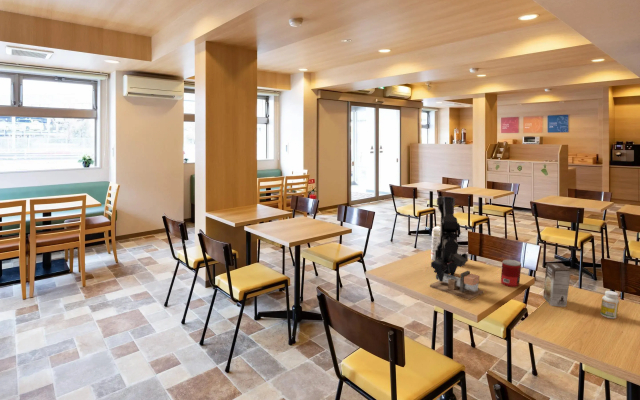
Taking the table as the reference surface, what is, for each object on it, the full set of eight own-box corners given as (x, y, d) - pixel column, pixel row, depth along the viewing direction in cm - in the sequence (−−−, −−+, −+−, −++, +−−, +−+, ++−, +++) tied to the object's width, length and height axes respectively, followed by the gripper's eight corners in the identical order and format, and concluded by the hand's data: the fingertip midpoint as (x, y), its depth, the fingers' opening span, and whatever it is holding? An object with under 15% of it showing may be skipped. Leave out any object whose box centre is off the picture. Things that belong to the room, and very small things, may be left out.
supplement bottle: (608, 319, 151) (611, 295, 149) (596, 313, 156) (599, 290, 155) (620, 318, 152) (623, 294, 150) (608, 312, 157) (611, 289, 155)
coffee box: (542, 297, 172) (545, 262, 169) (558, 298, 170) (561, 262, 168) (550, 306, 163) (554, 269, 160) (567, 307, 161) (571, 270, 159)
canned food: (521, 287, 182) (523, 265, 180) (502, 286, 184) (504, 264, 182) (516, 281, 189) (518, 260, 188) (498, 280, 191) (500, 259, 189)
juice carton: (443, 263, 216) (445, 230, 213) (429, 260, 222) (430, 227, 219) (449, 260, 222) (451, 227, 218) (435, 257, 227) (436, 225, 224)
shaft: (435, 280, 185) (436, 272, 184) (440, 278, 187) (440, 271, 187) (473, 292, 171) (474, 284, 170) (478, 290, 173) (478, 282, 172)
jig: (429, 286, 183) (430, 267, 181) (443, 280, 191) (444, 262, 189) (469, 300, 168) (471, 279, 166) (483, 293, 176) (484, 272, 174)
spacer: (463, 283, 173) (464, 276, 172) (470, 279, 177) (471, 273, 176) (472, 285, 170) (472, 279, 169) (479, 282, 174) (479, 275, 173)
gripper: (453, 254, 168) (451, 289, 171) (475, 246, 180) (473, 279, 183) (431, 249, 176) (429, 282, 179) (453, 241, 188) (451, 272, 191)
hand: (446, 279), depth 183 cm, fingers open, 9 cm apart
